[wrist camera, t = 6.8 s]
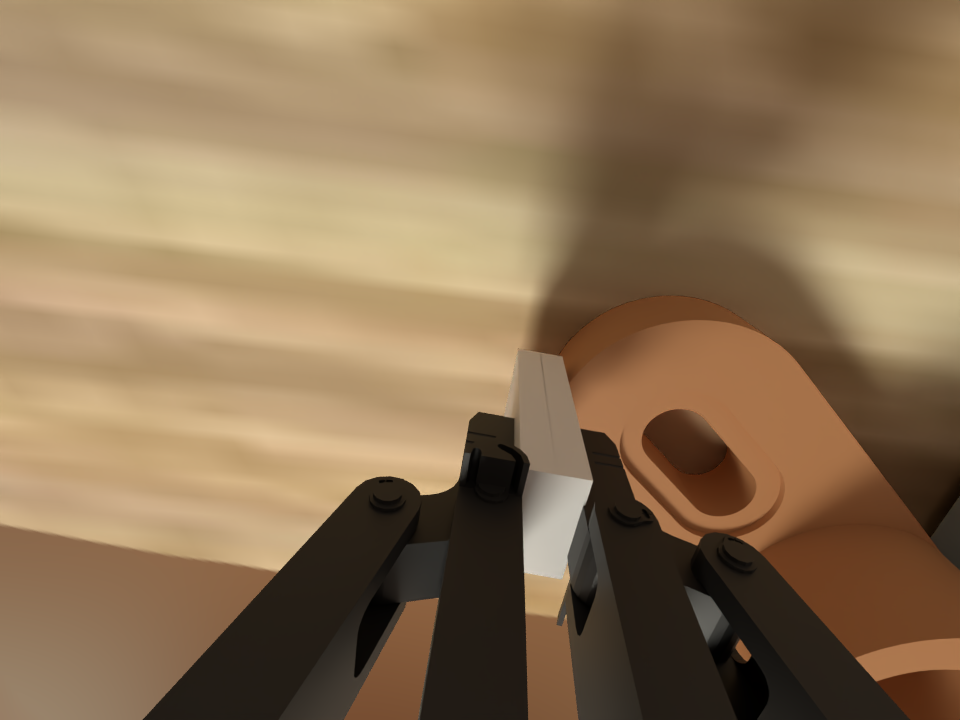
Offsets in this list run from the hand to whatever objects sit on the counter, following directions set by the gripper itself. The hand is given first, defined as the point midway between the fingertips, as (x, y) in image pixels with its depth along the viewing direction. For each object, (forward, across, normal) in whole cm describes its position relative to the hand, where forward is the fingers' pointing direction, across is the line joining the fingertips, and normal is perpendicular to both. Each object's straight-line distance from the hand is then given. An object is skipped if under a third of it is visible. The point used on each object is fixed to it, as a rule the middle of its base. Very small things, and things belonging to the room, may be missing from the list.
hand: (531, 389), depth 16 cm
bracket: (+2, +9, -4) cm, 10 cm away
